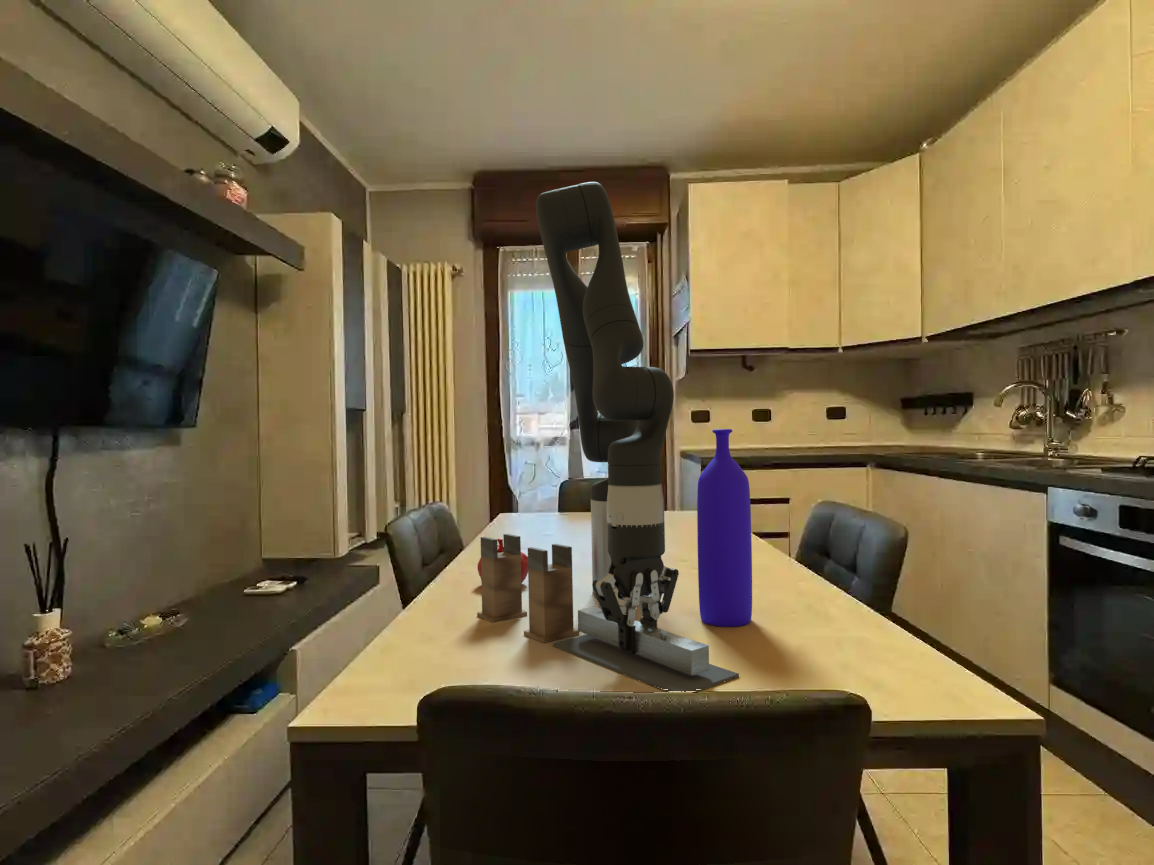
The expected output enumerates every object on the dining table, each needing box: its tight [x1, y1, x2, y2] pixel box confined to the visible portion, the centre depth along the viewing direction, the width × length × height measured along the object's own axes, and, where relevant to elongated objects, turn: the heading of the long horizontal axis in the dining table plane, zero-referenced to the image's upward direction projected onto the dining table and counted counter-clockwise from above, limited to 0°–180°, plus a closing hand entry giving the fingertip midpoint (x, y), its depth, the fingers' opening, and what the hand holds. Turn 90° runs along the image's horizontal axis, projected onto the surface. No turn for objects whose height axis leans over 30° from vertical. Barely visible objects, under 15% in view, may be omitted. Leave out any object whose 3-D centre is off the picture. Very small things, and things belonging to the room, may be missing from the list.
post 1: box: [476, 533, 528, 623], centre depth 116 cm, size 6×5×13 cm
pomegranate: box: [477, 538, 528, 584], centre depth 139 cm, size 10×10×9 cm
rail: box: [577, 606, 710, 676], centre depth 93 cm, size 3×22×3 cm, turn 37°
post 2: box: [523, 543, 580, 644], centre depth 105 cm, size 6×5×13 cm
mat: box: [552, 634, 740, 692], centre depth 93 cm, size 10×25×1 cm, turn 38°
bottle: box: [696, 428, 753, 628], centre depth 111 cm, size 8×8×30 cm
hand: (638, 649), depth 93 cm, fingers closed on rail, 3 cm apart
